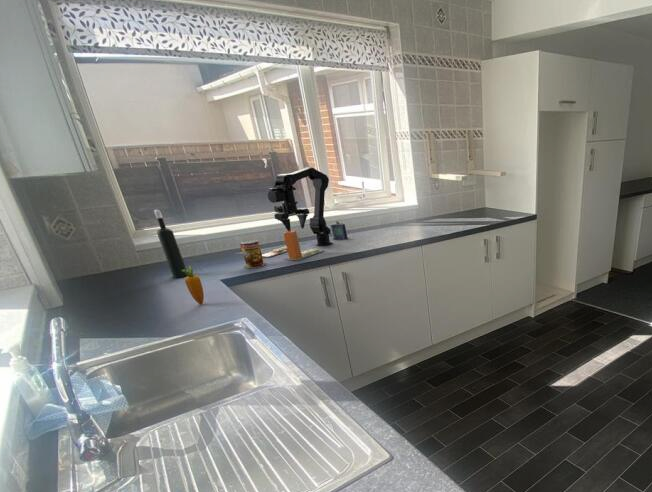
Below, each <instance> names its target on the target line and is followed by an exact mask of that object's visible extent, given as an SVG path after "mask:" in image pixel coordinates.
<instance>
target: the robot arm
mask: <svg viewBox="0 0 652 492" xmlns="http://www.w3.org/2000/svg"><path fill="white" fill-rule="evenodd" d="M275 177H276V178H275V182H274V185H273V188H272V187H271V188H270V187H269V188H268V193H267V198H268V200H269V202H270V203H272V204H274V203H280V202H281V205H278V204H277V205H274V206H273V210H274V212H275V213H274V216H273V217H274V219H275V220H277V221H280V222H281V223H282V224H283V226H284V227H285V229H286V231H292V230H291V219H290V217H293V216H296V217H297V218H298V221H299V224H300V229H304V228H305V224H306V222H307V218H308V216H309V214H310V210H309V209H308V207H300V208H299V207H298V206H297V204H299V203H298V201H296V197H295V192H294V191H296V190H297V188H296V187H294V186H293V185H295V184H296V182H298V181H300V180H302V179H305V178H307V177H308V179H309V180H311V181H312V186H313V188H314V191H315V192H314V209H313V217H309V224H308V225H309V229H310V230H311V232H312V233H313V235H316V244H315V245H316V246H323V247H324V246H328V245H332V244H333V242H332V241H331V239H330V234H332V230H331V228H330V227H328V226H327V221H326V219H325V217H324V213H325V198H326V197H325V194H326V190H327V189H328V188H329V183H330V178H329V177H328V175H327V174H325V173H324V172H321V171H320V170H318V169H316V168H315V167H313V166H305V167H304V168H301V169H299V170H296V171H292V172H290V173H280V174H276V176H275Z"/></svg>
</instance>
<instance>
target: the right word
mask: <svg viewBox="0 0 652 492" xmlns="http://www.w3.org/2000/svg"><path fill="white" fill-rule="evenodd" d="M323 252H324V249H319V248H310V249H308V250H305V251H301V254H302V256H300V257H298V258H289V257H286V260H288V261H300V260H302V259H306V258H309V257H311V256H314V255H318V254H319V253H323Z"/></svg>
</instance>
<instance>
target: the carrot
mask: <svg viewBox="0 0 652 492" xmlns="http://www.w3.org/2000/svg"><path fill="white" fill-rule="evenodd" d="M188 268H189V270H187V269H186V270H187V271H186V270H185V269H184V270H182V271H183V272H185V273H186V274H187V275H188V276H186V277H184V282H185V285H186V287H187V290H188V292H189V294H190V295H191V297H192V298H193V300H194V301H195V302H196V303H198V305H199V306H200V305H201V306H202V305H203V304H204V300H205V299H204V298H205V295H204V289H203V285H202V281H201V278H200V276H199V275H195V274H194V268H193V266H192V265H188Z"/></svg>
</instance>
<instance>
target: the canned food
mask: <svg viewBox="0 0 652 492" xmlns="http://www.w3.org/2000/svg"><path fill="white" fill-rule="evenodd" d="M239 246H240V249H241V252H242V254H243V259H244V262H245V265H246V268H249V269H254V268H255V269H256V268H260V267H263V266H265V262H264V261H265V260H264V257H262V254H263V253H262V251H261V247H260V246H261V245H260V244H259V240H258V239H247V240H242V241H239Z"/></svg>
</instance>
